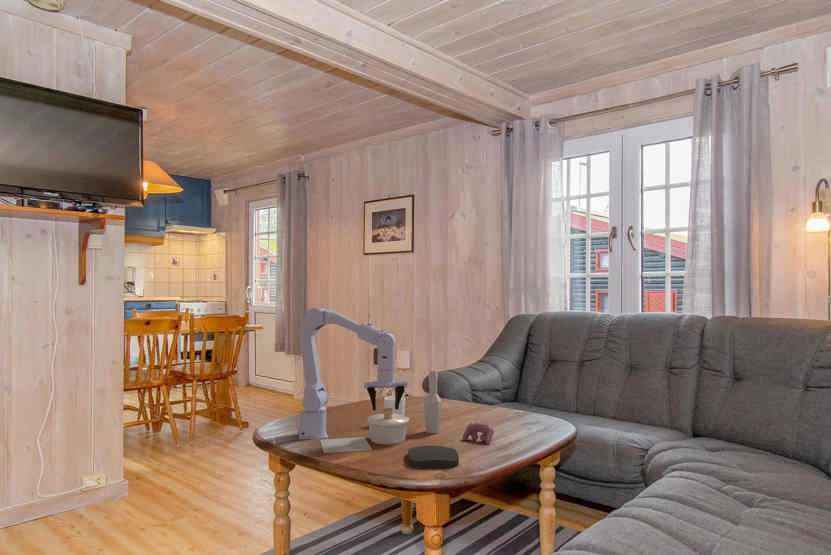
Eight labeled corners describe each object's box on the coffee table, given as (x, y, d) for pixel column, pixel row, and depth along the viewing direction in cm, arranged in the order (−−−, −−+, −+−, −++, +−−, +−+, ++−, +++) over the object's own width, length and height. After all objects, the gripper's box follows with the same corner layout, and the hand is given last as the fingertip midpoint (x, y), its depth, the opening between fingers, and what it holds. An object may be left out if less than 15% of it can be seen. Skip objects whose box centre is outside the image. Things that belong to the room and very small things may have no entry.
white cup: (402, 428, 206) (402, 400, 206) (381, 426, 208) (381, 399, 208) (407, 423, 214) (407, 396, 214) (386, 421, 215) (387, 395, 215)
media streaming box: (409, 469, 161) (409, 459, 161) (407, 454, 175) (407, 444, 175) (460, 469, 162) (460, 458, 162) (453, 453, 176) (453, 444, 176)
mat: (324, 454, 173) (324, 452, 173) (319, 440, 188) (319, 439, 188) (372, 451, 177) (372, 449, 177) (364, 438, 192) (364, 437, 192)
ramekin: (399, 448, 180) (399, 426, 181) (361, 444, 185) (361, 423, 185) (412, 438, 193) (412, 417, 193) (377, 434, 197) (377, 414, 197)
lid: (370, 426, 180) (371, 414, 180) (364, 416, 194) (364, 405, 194) (413, 424, 184) (413, 412, 184) (404, 415, 197) (404, 403, 197)
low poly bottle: (440, 435, 197) (440, 371, 197) (422, 433, 198) (422, 371, 199) (442, 430, 203) (443, 369, 204) (425, 429, 205) (426, 368, 205)
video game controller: (492, 447, 188) (496, 426, 191) (488, 444, 185) (492, 423, 188) (465, 443, 193) (469, 422, 196) (460, 439, 190) (464, 419, 193)
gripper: (366, 371, 184) (365, 412, 184) (409, 370, 188) (409, 411, 188) (363, 368, 191) (362, 408, 191) (404, 367, 195) (404, 406, 195)
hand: (385, 409), depth 190 cm, fingers open, 7 cm apart
